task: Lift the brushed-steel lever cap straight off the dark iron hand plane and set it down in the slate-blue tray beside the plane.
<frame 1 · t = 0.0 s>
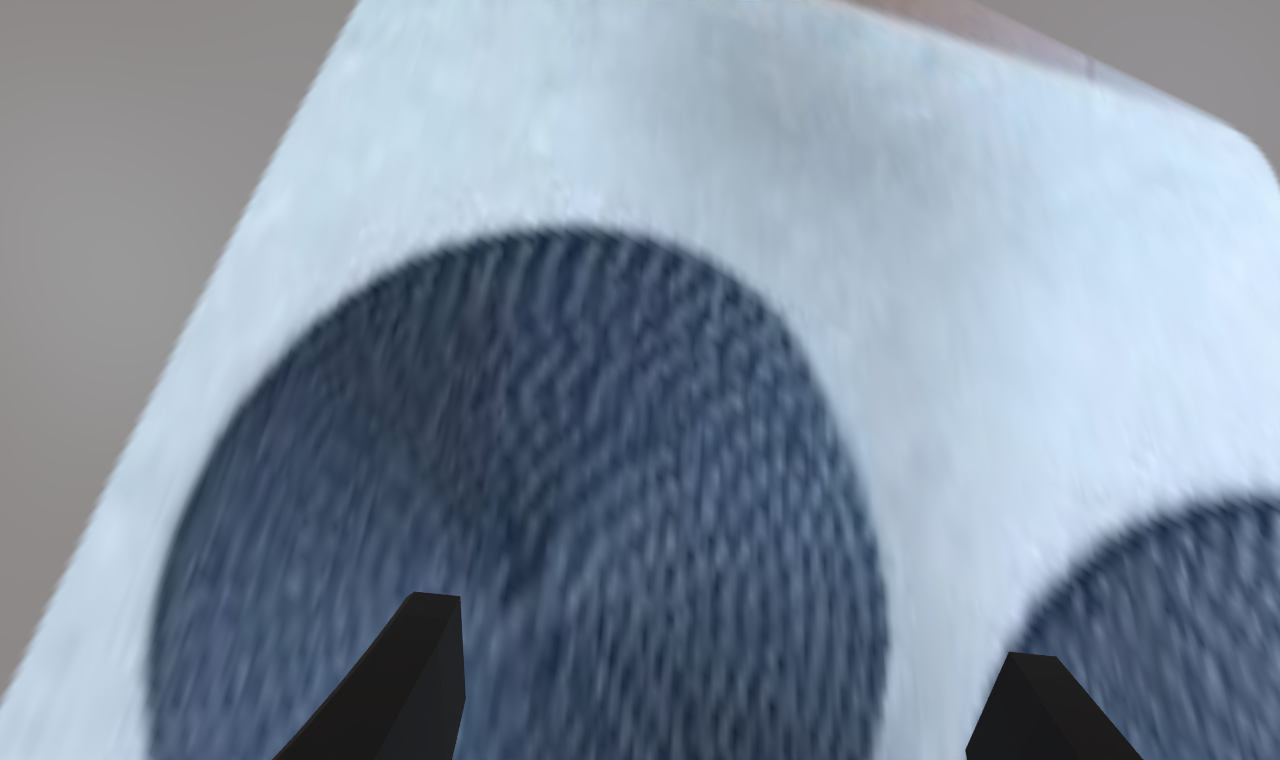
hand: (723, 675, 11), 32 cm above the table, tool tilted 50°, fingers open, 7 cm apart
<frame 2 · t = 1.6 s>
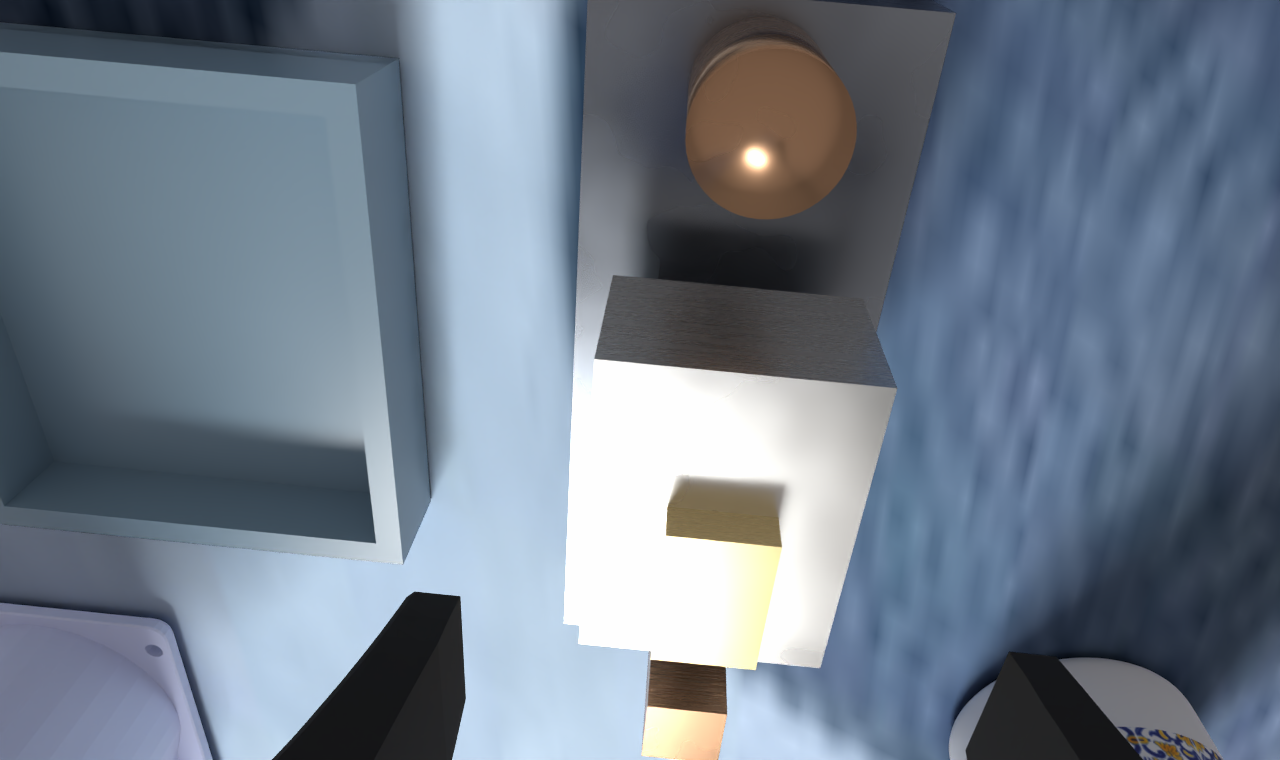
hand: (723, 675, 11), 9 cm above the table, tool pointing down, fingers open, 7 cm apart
tray: (199, 292, 19), on the table
hand plane: (714, 341, 19), on the table
lever cap: (716, 427, 16), point 3 cm above the table, touching hand plane
bath foam: (1060, 721, 25), on the table
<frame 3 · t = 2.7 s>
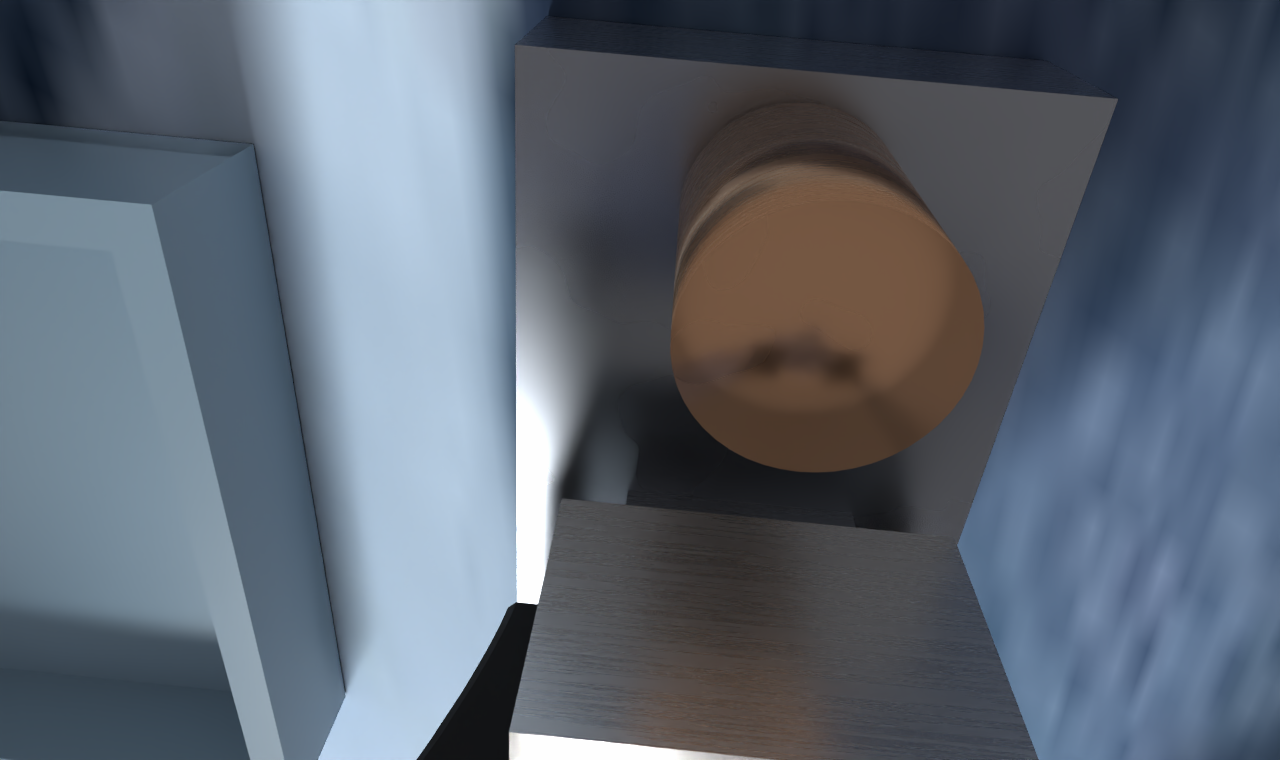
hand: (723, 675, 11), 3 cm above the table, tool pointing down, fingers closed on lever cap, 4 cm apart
tray: (10, 447, 14), on the table
hand plane: (718, 517, 14), on the table
lever cap: (723, 693, 11), point 3 cm above the table, touching gripper, hand plane
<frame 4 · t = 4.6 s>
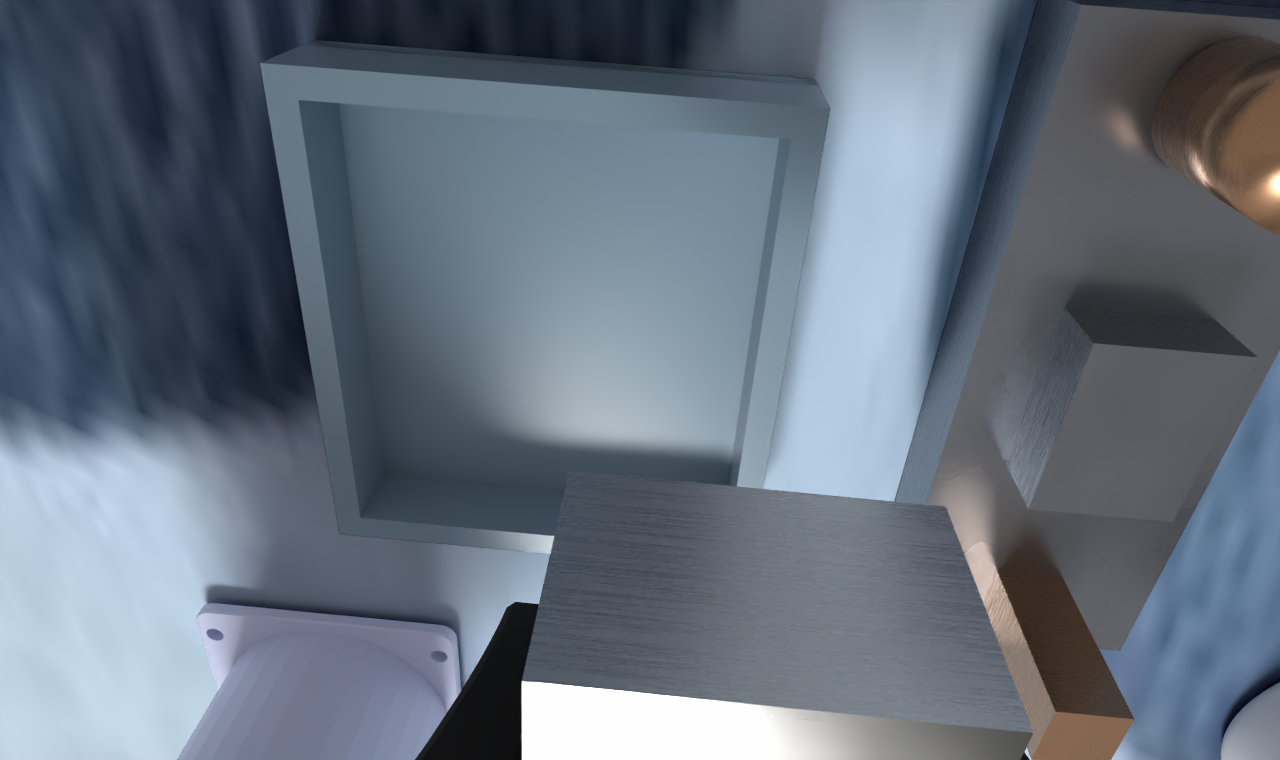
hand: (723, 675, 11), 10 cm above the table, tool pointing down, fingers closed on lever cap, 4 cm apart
tray: (559, 307, 20), on the table
hand plane: (1070, 351, 20), on the table
lever cap: (724, 662, 11), point 10 cm above the table, touching gripper
when the fingers open (3 cm above the table, at t = 6.8 s): lever cap drops 2 cm, resting on tray.
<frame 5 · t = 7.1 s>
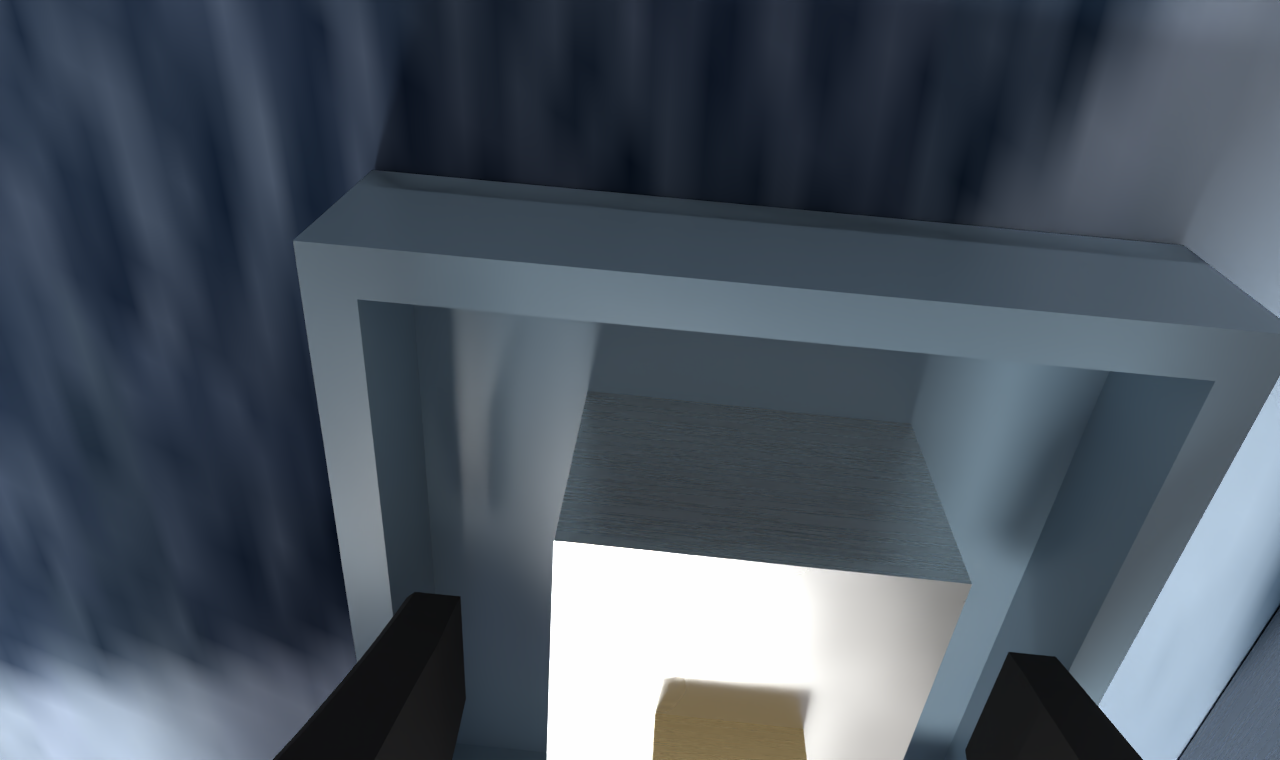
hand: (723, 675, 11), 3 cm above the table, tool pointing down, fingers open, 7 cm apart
tray: (719, 542, 13), on the table
lever cap: (720, 569, 13), point 1 cm above the table, touching tray
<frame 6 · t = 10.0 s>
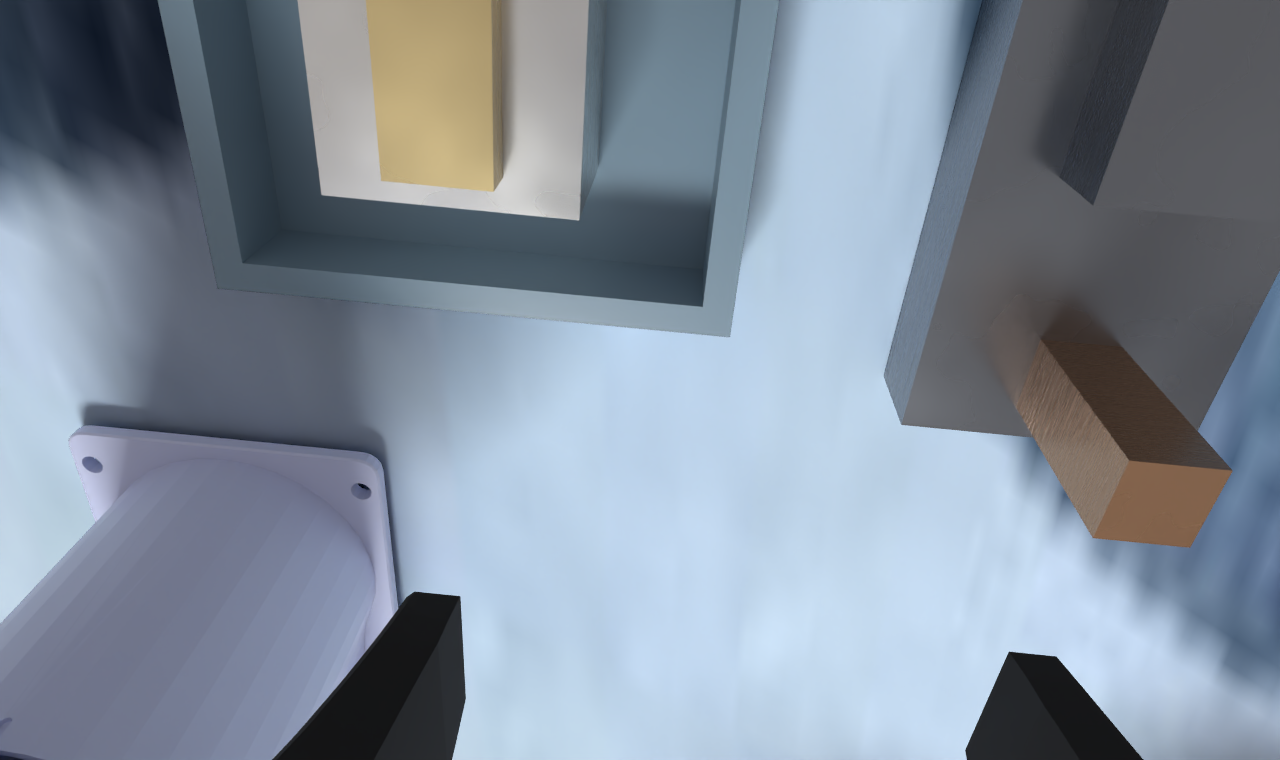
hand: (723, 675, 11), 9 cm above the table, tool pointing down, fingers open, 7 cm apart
hand plane: (1137, 45, 15), on the table
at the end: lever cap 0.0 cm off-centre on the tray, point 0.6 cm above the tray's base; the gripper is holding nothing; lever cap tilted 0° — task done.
